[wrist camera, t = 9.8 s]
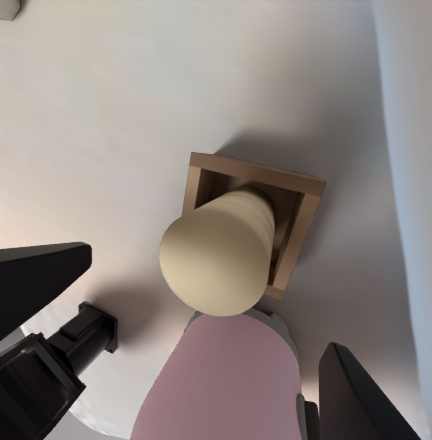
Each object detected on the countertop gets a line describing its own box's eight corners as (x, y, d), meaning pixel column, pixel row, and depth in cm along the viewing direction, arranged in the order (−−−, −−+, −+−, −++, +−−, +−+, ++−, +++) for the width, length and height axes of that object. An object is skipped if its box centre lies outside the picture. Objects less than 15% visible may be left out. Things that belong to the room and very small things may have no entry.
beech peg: (266, 248, 18) (250, 333, 9) (215, 231, 19) (154, 292, 10) (284, 194, 17) (285, 231, 7) (226, 179, 18) (166, 197, 9)
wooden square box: (282, 270, 19) (281, 300, 15) (196, 241, 21) (174, 261, 17) (315, 177, 16) (326, 182, 12) (212, 154, 18) (191, 152, 14)
